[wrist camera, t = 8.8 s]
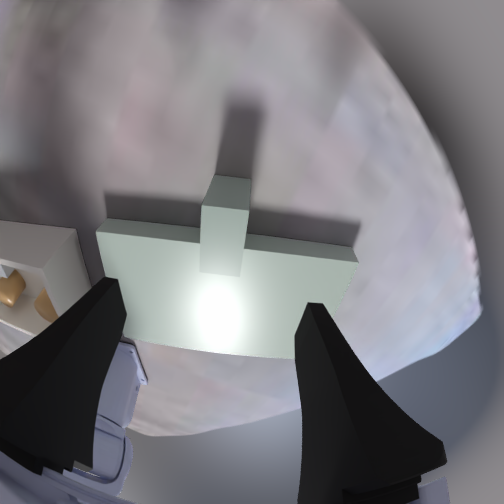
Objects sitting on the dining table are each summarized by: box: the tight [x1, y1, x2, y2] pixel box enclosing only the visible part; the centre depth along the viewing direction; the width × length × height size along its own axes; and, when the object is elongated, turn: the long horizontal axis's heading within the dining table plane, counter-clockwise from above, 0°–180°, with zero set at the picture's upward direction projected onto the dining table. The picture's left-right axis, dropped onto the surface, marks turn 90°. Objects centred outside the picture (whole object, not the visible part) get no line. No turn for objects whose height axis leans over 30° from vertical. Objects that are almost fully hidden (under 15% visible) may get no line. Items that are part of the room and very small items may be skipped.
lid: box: [96, 175, 359, 359], centre depth 18 cm, size 15×18×4 cm
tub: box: [0, 220, 92, 337], centre depth 18 cm, size 10×16×5 cm, turn 83°
